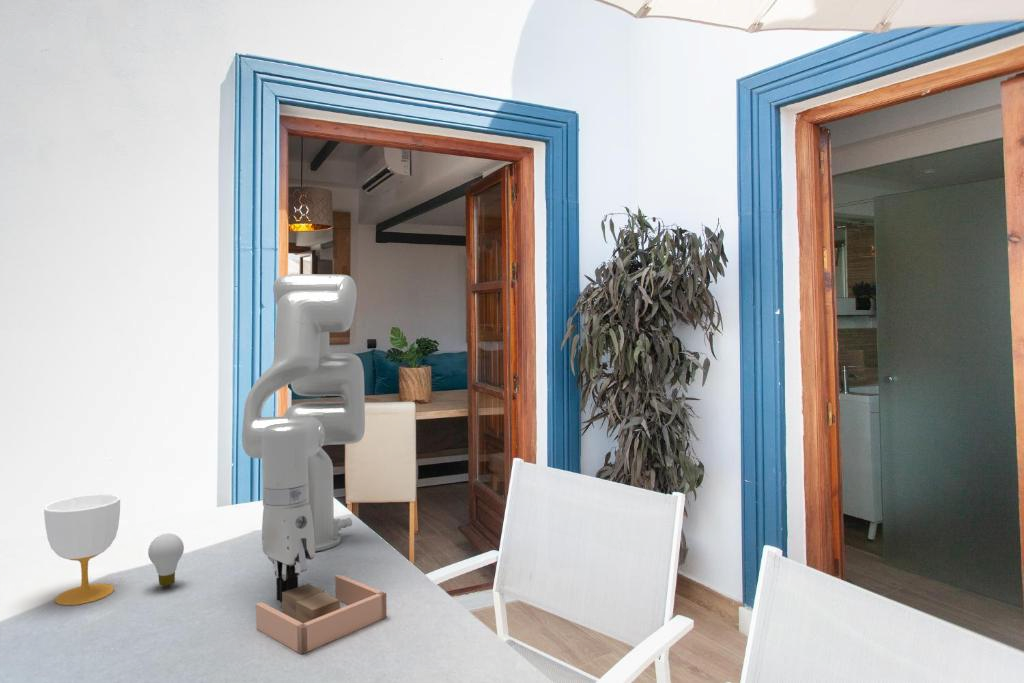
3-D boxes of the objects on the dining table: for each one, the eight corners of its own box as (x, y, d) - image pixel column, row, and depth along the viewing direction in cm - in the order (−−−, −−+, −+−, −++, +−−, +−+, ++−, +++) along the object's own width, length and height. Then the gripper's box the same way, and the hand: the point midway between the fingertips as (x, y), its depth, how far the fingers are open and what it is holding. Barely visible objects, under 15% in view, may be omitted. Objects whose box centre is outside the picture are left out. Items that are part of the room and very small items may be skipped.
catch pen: (340, 596, 117) (339, 574, 117) (386, 616, 109) (386, 593, 109) (256, 628, 105) (256, 604, 105) (301, 654, 97) (301, 627, 97)
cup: (131, 593, 119) (129, 501, 119) (54, 615, 111) (52, 515, 110) (111, 577, 127) (109, 490, 127) (38, 595, 119) (36, 502, 118)
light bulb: (169, 594, 119) (168, 540, 119) (141, 592, 120) (140, 538, 120) (191, 582, 125) (190, 530, 124) (164, 579, 126) (163, 528, 125)
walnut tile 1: (308, 603, 115) (308, 583, 115) (324, 611, 111) (324, 590, 111) (282, 612, 111) (282, 592, 111) (298, 621, 108) (297, 600, 108)
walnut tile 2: (322, 612, 111) (322, 591, 111) (339, 620, 108) (339, 599, 108) (296, 622, 107) (296, 601, 107) (312, 631, 104) (312, 610, 104)
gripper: (329, 497, 111) (330, 603, 112) (282, 483, 121) (284, 581, 122) (289, 507, 106) (291, 618, 106) (243, 492, 115) (245, 594, 116)
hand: (287, 598), depth 114 cm, fingers closed
